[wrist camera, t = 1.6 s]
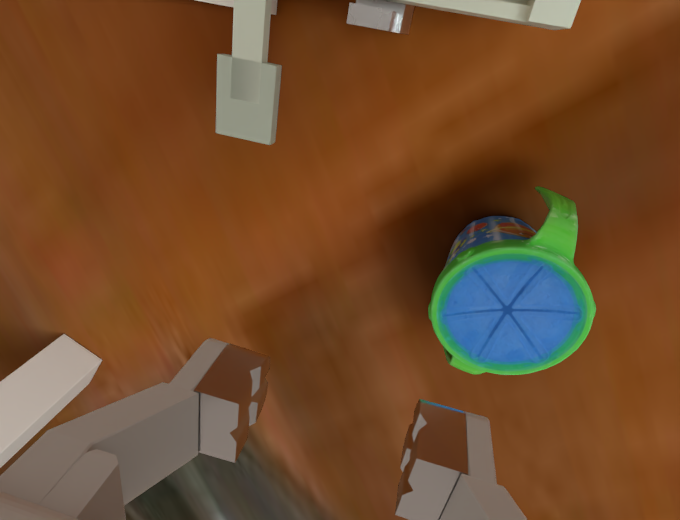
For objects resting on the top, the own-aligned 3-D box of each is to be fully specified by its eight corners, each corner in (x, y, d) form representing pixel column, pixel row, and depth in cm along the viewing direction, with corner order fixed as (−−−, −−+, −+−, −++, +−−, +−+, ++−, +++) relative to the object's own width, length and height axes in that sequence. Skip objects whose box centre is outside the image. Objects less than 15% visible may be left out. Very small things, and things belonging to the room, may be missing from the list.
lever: (604, -109, 21) (630, -134, 18) (497, 191, 28) (503, 209, 25) (230, -159, 23) (197, -190, 20) (222, 130, 31) (197, 140, 28)
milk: (52, 357, 59) (-142, 511, 39) (64, 332, 56) (-140, 484, 36) (90, 383, 59) (-83, 547, 40) (104, 359, 56) (-76, 523, 37)
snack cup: (492, 339, 42) (504, 419, 33) (399, 288, 42) (385, 354, 33) (611, 210, 34) (667, 268, 25) (497, 146, 34) (514, 182, 25)
